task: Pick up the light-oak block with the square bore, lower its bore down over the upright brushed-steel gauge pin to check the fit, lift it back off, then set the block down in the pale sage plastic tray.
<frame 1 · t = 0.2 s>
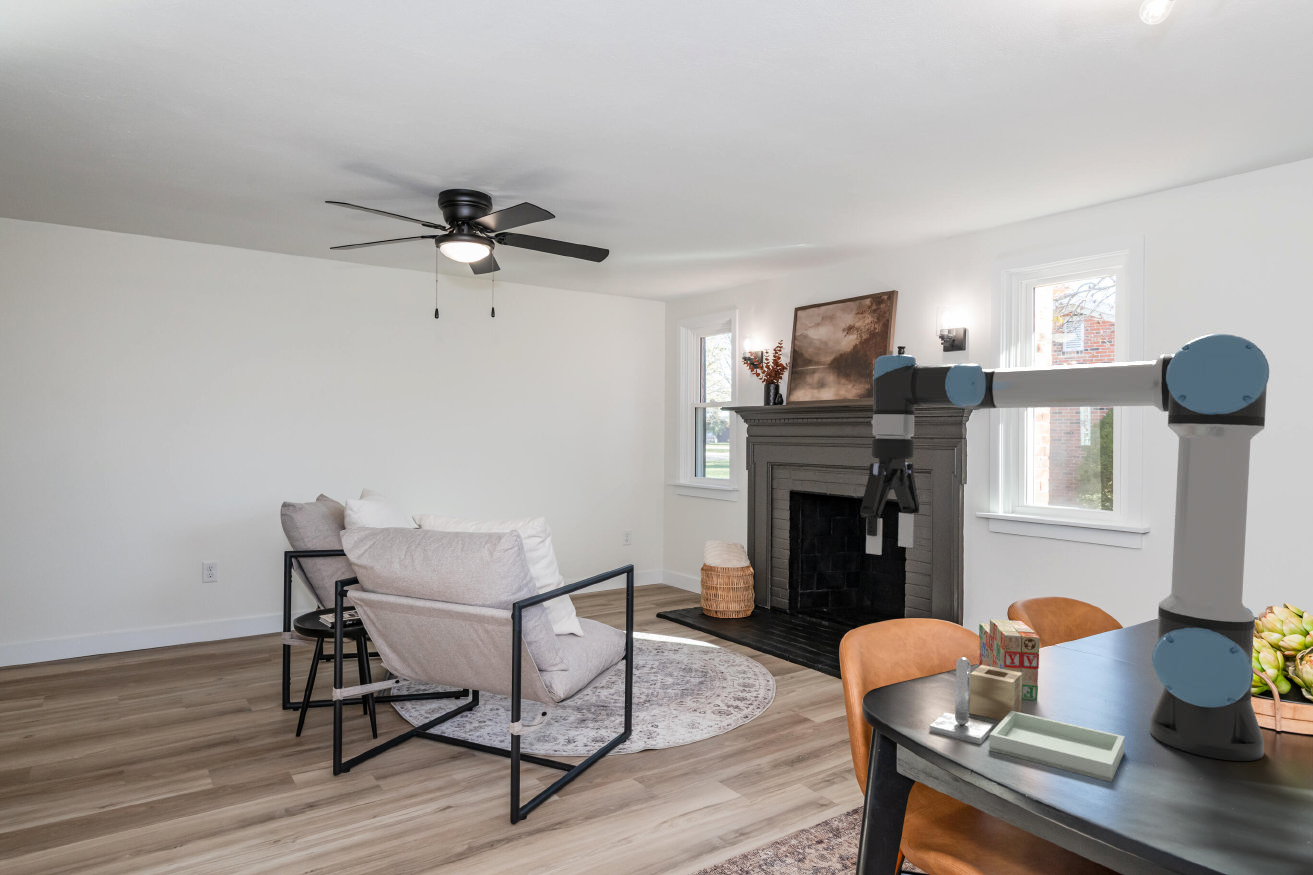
hand: (890, 550, 144), 27 cm above the table, fingers open, 13 cm apart
stack of blocks: (1006, 683, 154), on the table
oak block: (995, 712, 136), on the table
tray: (1056, 751, 120), on the table
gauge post: (961, 730, 127), on the table
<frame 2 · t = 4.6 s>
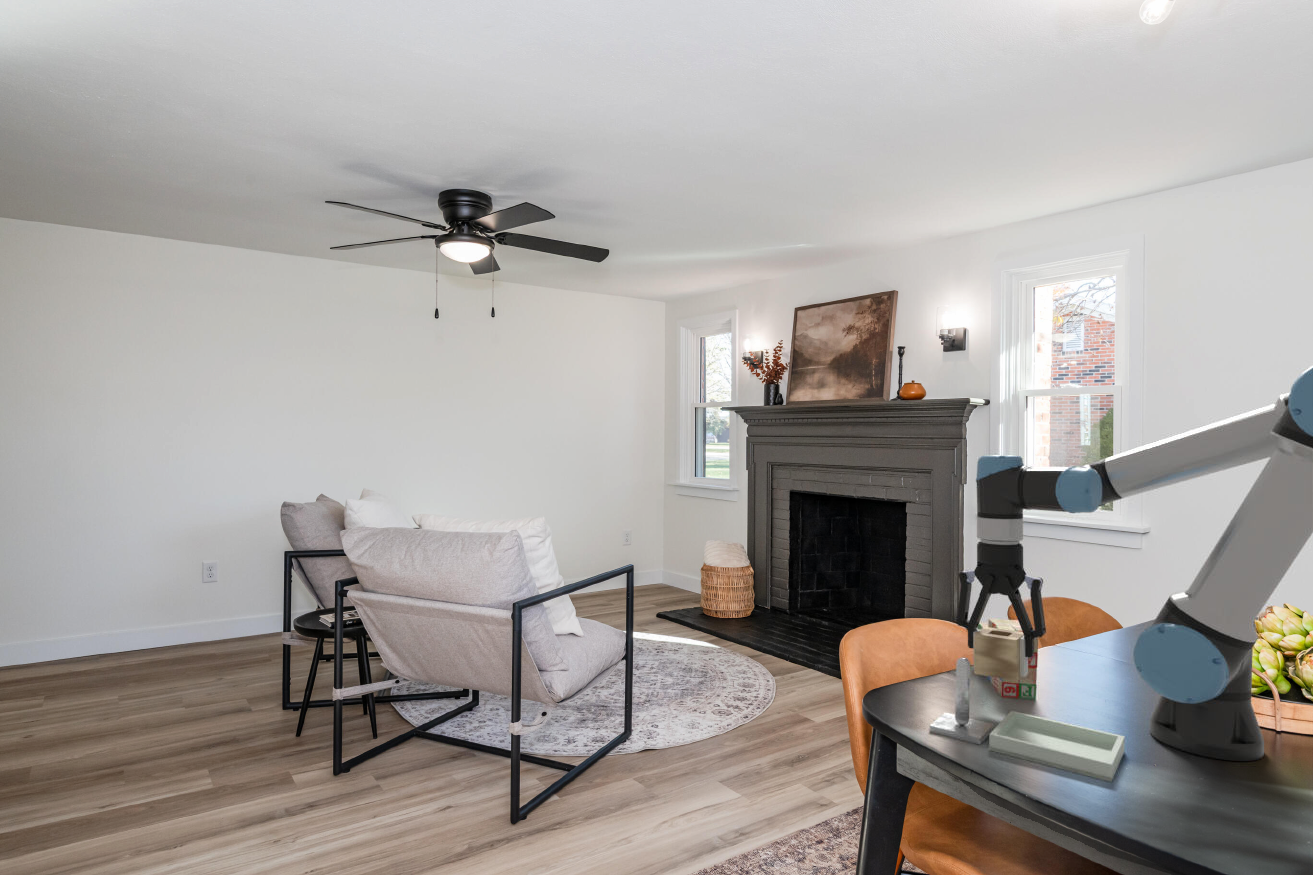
hand: (1000, 670, 136), 8 cm above the table, fingers closed on oak block, 7 cm apart
oak block: (1000, 672, 136), point 7 cm above the table, touching gripper
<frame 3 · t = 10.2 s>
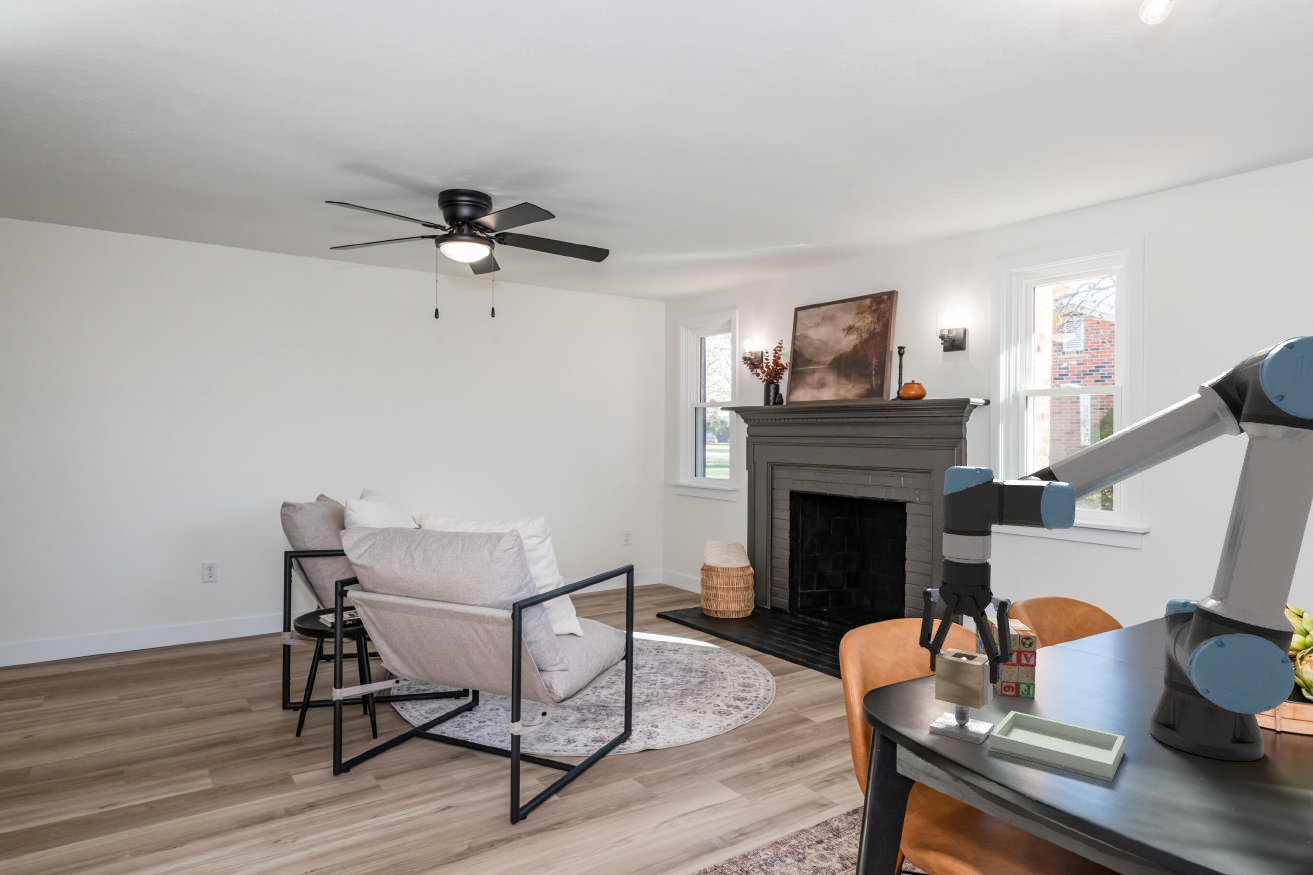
hand: (963, 696, 127), 6 cm above the table, fingers closed on oak block, 7 cm apart
oak block: (963, 698, 127), point 5 cm above the table, touching gripper
when the fingers open (2 cm above the table, at t = 16.3 s): oak block drops 1 cm, resting on tray.
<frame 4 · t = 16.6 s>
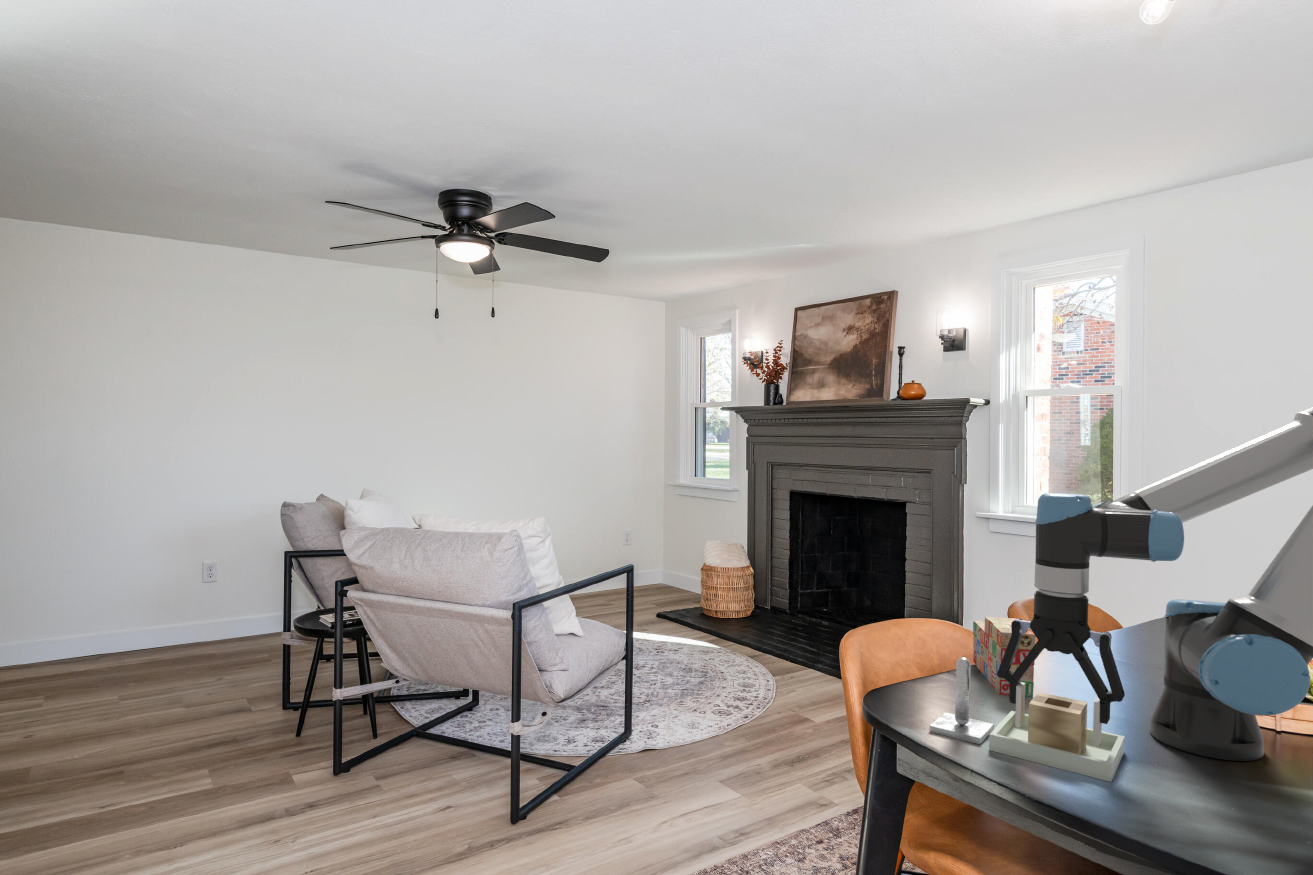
hand: (1057, 733, 120), 3 cm above the table, fingers open, 10 cm apart
oak block: (1057, 747, 120), point 1 cm above the table, touching tray
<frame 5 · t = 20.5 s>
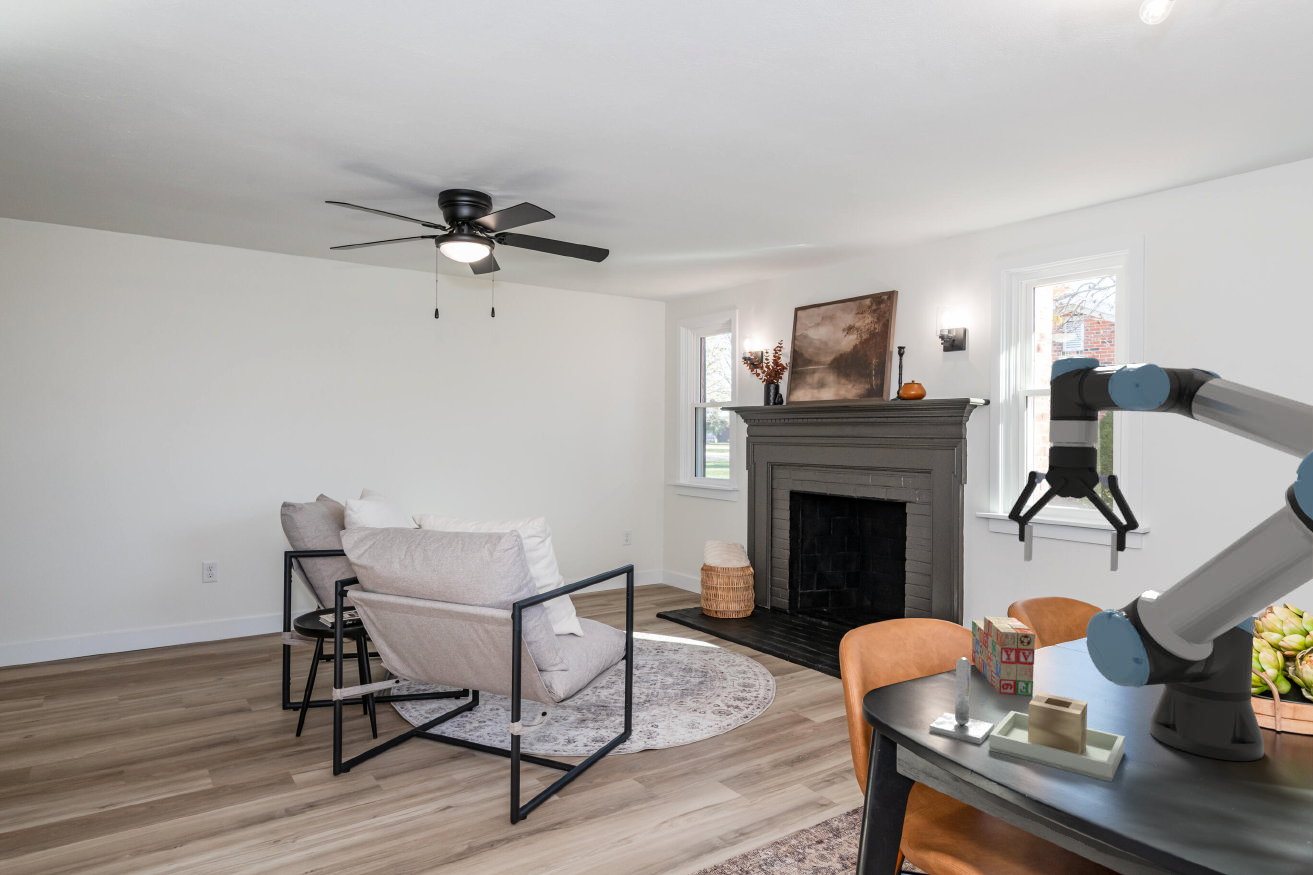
hand: (1069, 565, 135), 27 cm above the table, fingers open, 13 cm apart
at the end: oak block inside the target area on the tray (0.0 cm from its centre), point 0.6 cm above the tray's base; oak block tilted 0°; the gripper is holding nothing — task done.
